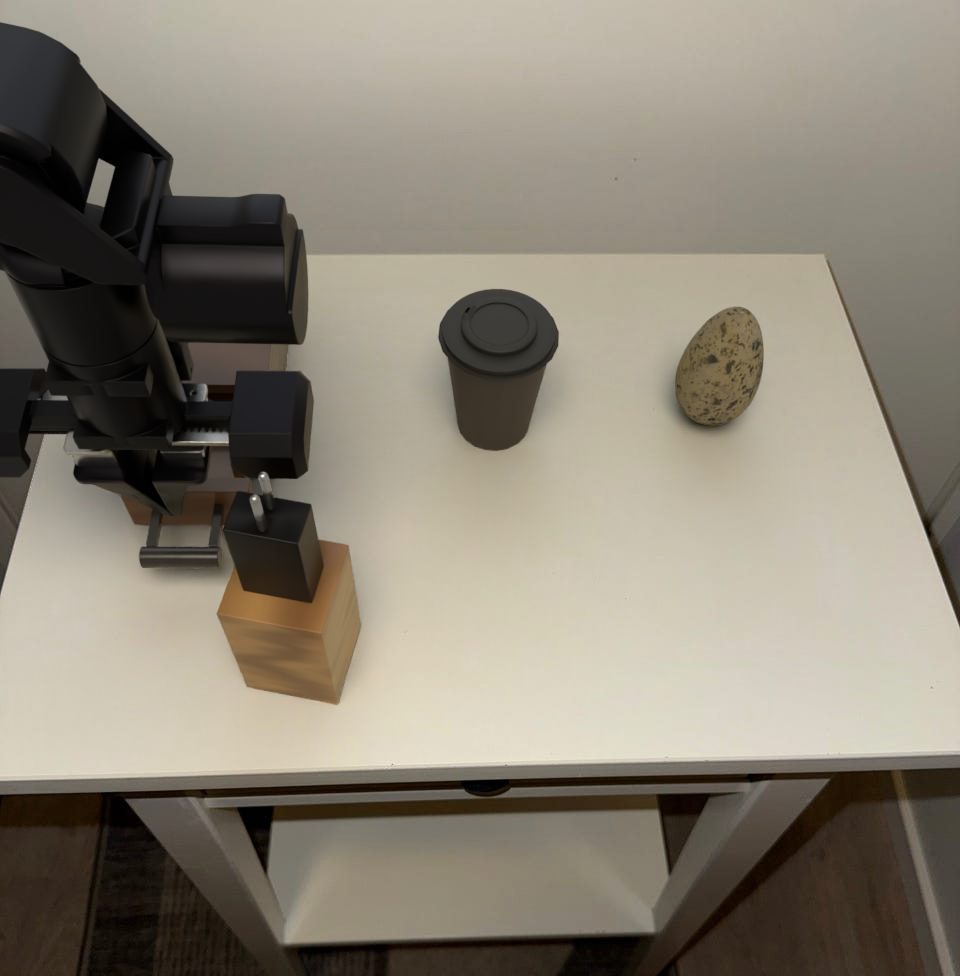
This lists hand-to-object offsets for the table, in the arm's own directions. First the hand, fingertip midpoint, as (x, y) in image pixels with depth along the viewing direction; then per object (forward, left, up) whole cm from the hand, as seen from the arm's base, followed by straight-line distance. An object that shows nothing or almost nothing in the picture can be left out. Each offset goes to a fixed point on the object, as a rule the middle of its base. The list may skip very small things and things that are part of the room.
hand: (175, 510), depth 62 cm
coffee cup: (+16, +18, -6) cm, 25 cm away
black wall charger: (+10, -4, +4) cm, 11 cm away
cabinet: (-5, +16, -6) cm, 18 cm away
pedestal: (+10, -4, -6) cm, 12 cm away
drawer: (-2, +5, -5) cm, 8 cm away
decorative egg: (+31, +24, -6) cm, 39 cm away
